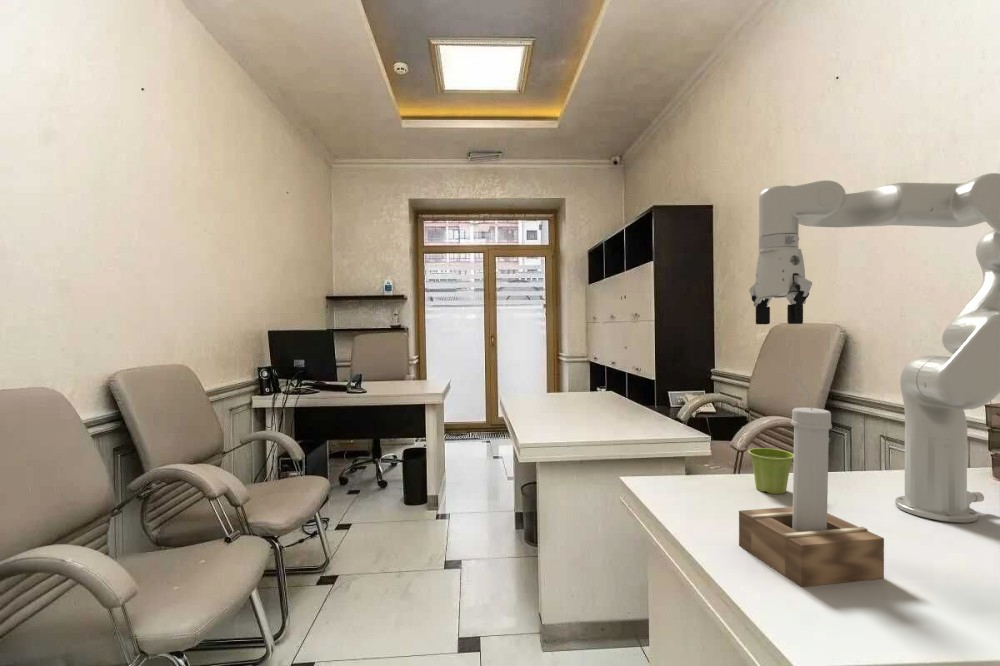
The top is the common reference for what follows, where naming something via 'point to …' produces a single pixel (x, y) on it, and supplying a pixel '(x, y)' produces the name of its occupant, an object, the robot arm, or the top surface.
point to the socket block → (812, 548)
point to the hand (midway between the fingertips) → (778, 324)
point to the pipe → (810, 467)
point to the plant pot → (771, 469)
